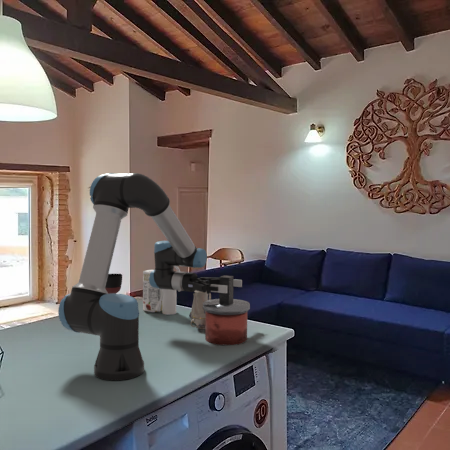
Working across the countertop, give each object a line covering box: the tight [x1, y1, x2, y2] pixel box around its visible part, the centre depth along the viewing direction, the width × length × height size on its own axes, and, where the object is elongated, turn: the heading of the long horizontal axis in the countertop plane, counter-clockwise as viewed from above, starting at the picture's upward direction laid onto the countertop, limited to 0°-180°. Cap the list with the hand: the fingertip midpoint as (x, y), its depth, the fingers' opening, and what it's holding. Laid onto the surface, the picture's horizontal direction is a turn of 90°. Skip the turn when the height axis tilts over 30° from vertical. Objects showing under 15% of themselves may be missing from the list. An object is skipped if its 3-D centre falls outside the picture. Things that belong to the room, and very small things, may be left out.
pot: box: [204, 300, 249, 346], centre depth 186 cm, size 27×17×12 cm, turn 155°
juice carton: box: [142, 269, 162, 313], centre depth 225 cm, size 8×9×19 cm
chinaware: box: [188, 290, 212, 330], centre depth 205 cm, size 28×17×17 cm, turn 154°
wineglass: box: [105, 273, 123, 294], centre depth 206 cm, size 8×9×20 cm
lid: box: [203, 275, 251, 314], centre depth 181 cm, size 18×18×12 cm
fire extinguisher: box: [154, 266, 181, 316], centre depth 220 cm, size 7×12×25 cm, turn 90°
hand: (234, 286), depth 180 cm, fingers open, 13 cm apart
